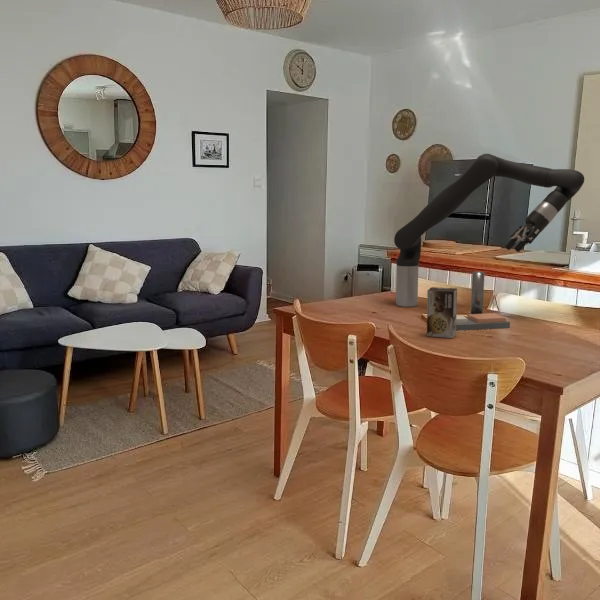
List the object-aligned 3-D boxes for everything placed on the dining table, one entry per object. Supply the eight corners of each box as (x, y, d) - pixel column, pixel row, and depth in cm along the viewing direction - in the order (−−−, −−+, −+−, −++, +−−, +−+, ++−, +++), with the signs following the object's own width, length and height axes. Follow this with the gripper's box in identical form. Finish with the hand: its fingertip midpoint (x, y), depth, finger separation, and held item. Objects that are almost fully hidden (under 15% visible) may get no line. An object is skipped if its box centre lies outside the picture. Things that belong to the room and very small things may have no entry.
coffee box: (456, 334, 200) (458, 288, 196) (452, 338, 194) (454, 291, 191) (429, 331, 203) (431, 286, 200) (425, 336, 198) (427, 289, 194)
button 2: (467, 319, 214) (468, 314, 214) (494, 318, 216) (495, 313, 216) (477, 324, 207) (478, 319, 206) (505, 323, 208) (505, 317, 208)
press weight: (464, 317, 225) (466, 271, 222) (480, 316, 226) (482, 270, 223) (472, 321, 219) (474, 273, 215) (488, 320, 220) (491, 273, 216)
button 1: (448, 321, 212) (448, 316, 211) (461, 321, 212) (461, 315, 212) (454, 324, 207) (454, 319, 206) (467, 324, 208) (467, 318, 207)
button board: (440, 324, 214) (440, 319, 214) (496, 321, 217) (496, 316, 217) (451, 330, 204) (451, 325, 204) (509, 327, 208) (510, 322, 207)
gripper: (525, 209, 221) (496, 241, 223) (543, 210, 207) (512, 244, 209) (539, 222, 223) (510, 254, 224) (557, 223, 209) (526, 257, 210)
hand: (511, 249), depth 216 cm, fingers open, 8 cm apart
